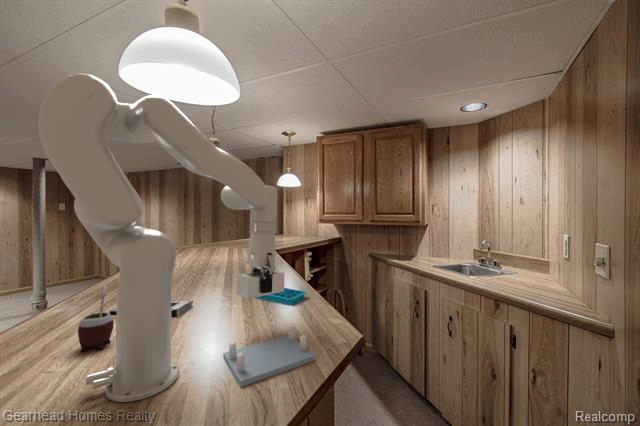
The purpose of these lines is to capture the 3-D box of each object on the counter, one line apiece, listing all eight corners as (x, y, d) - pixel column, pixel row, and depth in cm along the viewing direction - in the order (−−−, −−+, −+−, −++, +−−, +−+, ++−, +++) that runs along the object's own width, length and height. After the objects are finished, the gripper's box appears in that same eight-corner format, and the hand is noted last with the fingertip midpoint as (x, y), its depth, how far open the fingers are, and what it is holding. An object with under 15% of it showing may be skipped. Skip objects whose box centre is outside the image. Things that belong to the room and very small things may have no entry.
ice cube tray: (269, 291, 121) (269, 284, 121) (307, 299, 111) (307, 291, 111) (251, 298, 110) (251, 291, 110) (291, 307, 101) (291, 299, 101)
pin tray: (240, 387, 54) (240, 364, 54) (223, 357, 65) (223, 338, 65) (314, 360, 64) (315, 340, 64) (289, 338, 75) (289, 322, 75)
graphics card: (179, 309, 89) (108, 306, 91) (179, 319, 89) (108, 316, 91) (195, 299, 99) (131, 297, 101) (195, 308, 99) (130, 306, 101)
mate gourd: (85, 357, 65) (85, 294, 64) (71, 348, 68) (72, 289, 68) (120, 344, 71) (121, 287, 71) (106, 337, 75) (106, 283, 75)
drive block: (247, 298, 72) (248, 278, 72) (236, 293, 76) (237, 274, 76) (283, 291, 80) (284, 272, 80) (272, 287, 84) (273, 269, 84)
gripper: (240, 226, 83) (239, 284, 83) (262, 229, 69) (260, 299, 69) (263, 226, 88) (261, 281, 87) (288, 229, 73) (286, 295, 73)
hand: (261, 288), depth 78 cm, fingers closed on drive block, 6 cm apart
